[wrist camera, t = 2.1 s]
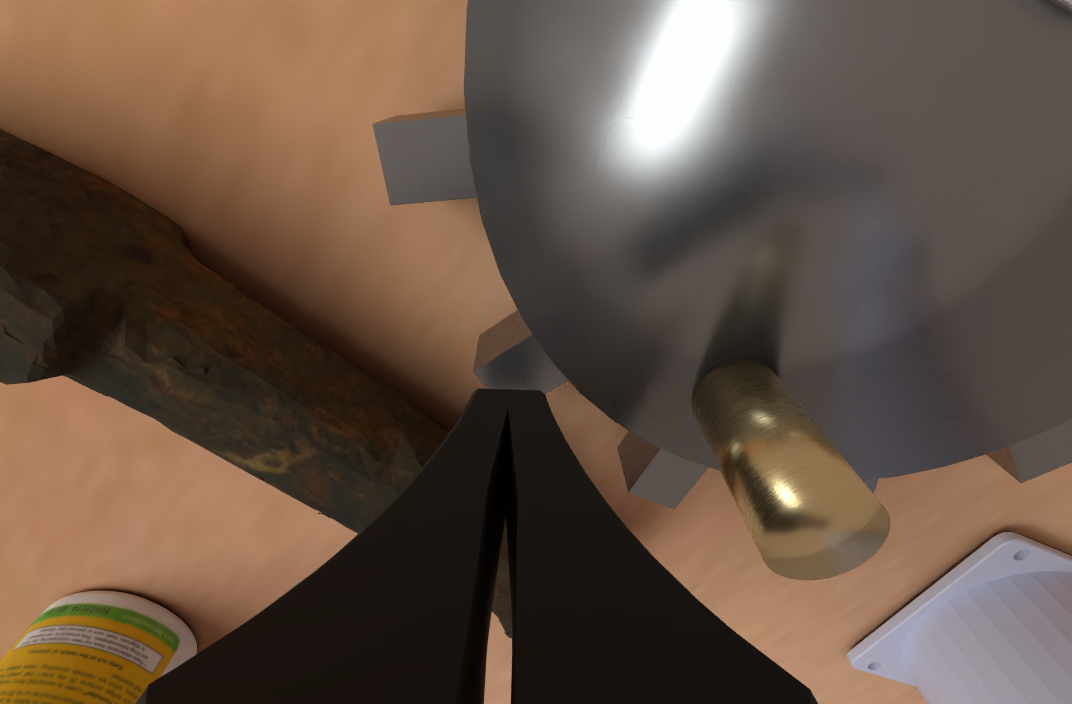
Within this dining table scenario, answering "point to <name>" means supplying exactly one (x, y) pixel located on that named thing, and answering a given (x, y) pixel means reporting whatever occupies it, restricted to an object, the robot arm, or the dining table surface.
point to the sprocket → (775, 239)
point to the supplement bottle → (94, 651)
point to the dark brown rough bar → (193, 348)
